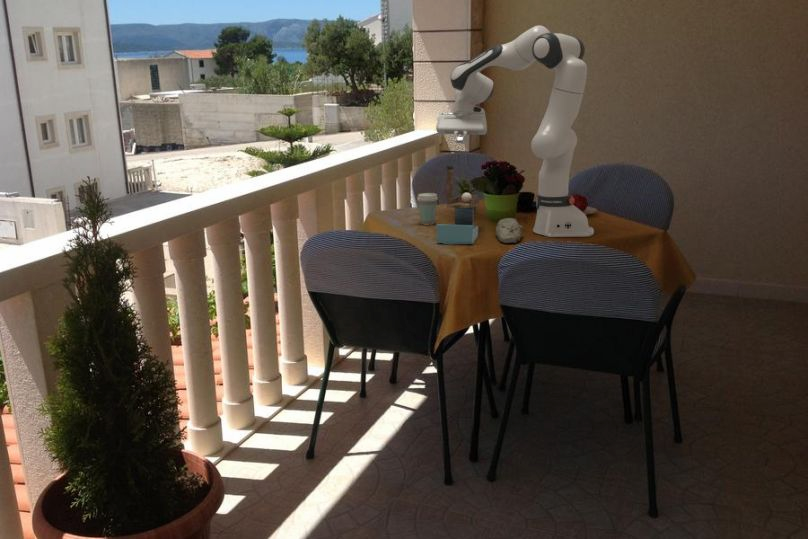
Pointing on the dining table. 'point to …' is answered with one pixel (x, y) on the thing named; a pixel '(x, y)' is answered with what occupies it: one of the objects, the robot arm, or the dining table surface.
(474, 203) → the walnut chute
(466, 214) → the fulcrum stand
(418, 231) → the dining table surface
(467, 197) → the cream ball
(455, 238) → the light blue box
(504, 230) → the elongated rock
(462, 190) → the house plant
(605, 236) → the dining table surface
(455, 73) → the robot arm
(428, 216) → the coffee cup
